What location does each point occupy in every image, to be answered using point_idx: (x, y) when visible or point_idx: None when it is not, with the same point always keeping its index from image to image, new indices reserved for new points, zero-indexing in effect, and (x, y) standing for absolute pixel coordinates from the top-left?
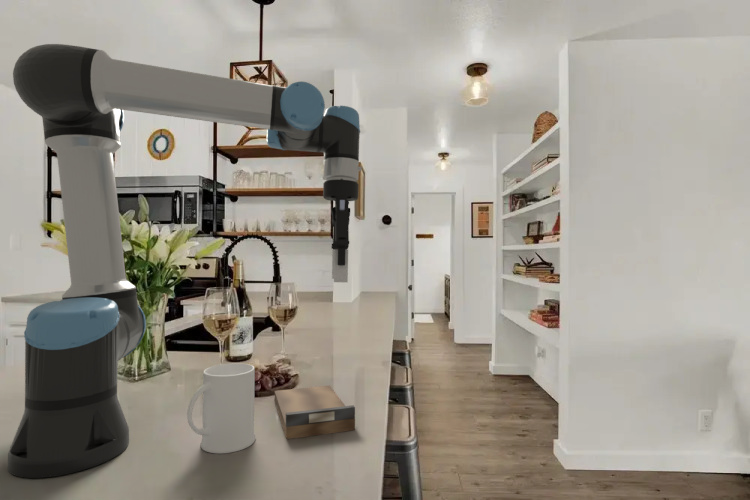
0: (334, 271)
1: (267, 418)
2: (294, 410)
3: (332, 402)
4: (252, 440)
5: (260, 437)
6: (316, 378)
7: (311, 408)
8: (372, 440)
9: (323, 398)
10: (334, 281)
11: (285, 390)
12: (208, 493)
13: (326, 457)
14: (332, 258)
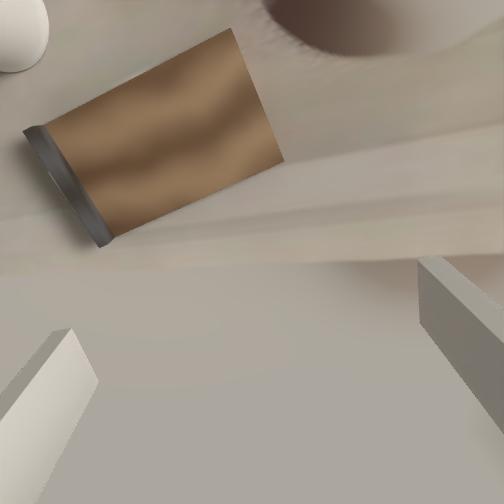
0: (21, 372)
1: (124, 56)
2: (115, 121)
3: (175, 188)
4: (4, 71)
5: (37, 76)
6: (410, 95)
7: (134, 153)
8: (84, 263)
9: (195, 165)
10: (52, 336)
11: (237, 57)
12: None
13: (10, 208)
14: (501, 343)
